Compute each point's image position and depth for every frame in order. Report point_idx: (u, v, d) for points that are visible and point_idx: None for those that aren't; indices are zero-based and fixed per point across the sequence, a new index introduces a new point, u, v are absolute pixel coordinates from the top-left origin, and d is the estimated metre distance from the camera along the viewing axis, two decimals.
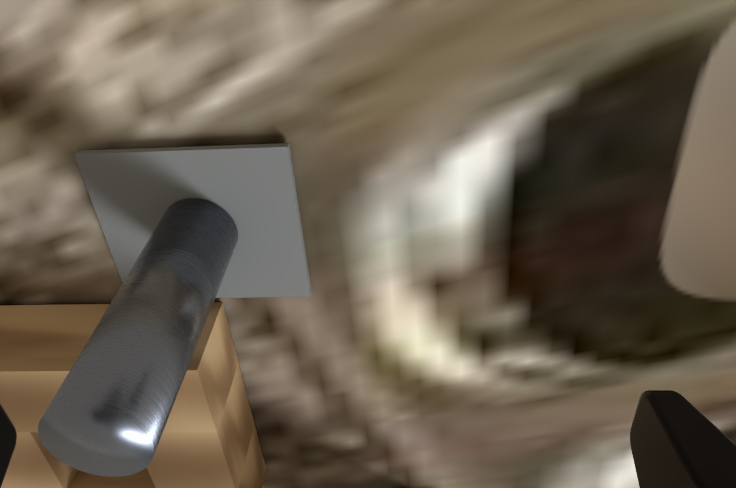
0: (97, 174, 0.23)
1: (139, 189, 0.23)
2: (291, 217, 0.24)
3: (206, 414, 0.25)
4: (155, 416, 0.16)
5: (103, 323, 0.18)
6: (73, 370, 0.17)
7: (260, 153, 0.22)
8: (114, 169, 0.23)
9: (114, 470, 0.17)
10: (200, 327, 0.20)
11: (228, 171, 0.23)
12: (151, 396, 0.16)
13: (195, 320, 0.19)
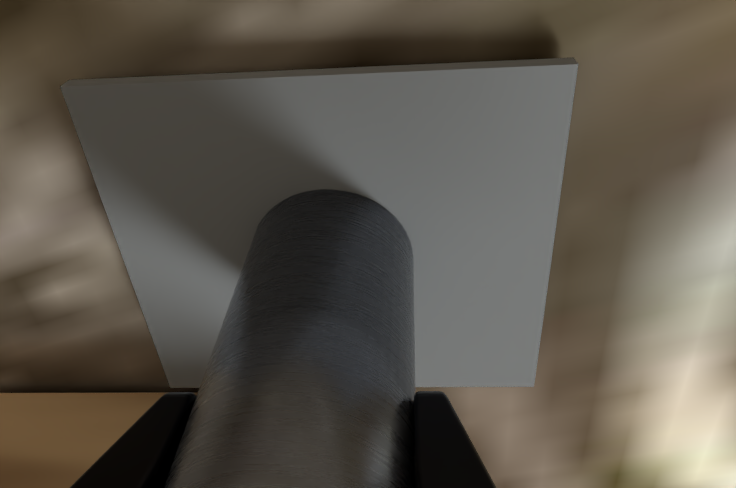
0: (115, 136, 0.10)
1: (208, 169, 0.10)
2: (539, 233, 0.11)
3: None
4: None
5: None
6: None
7: (506, 83, 0.09)
8: (154, 124, 0.10)
9: None
10: None
11: (419, 127, 0.10)
12: None
13: None
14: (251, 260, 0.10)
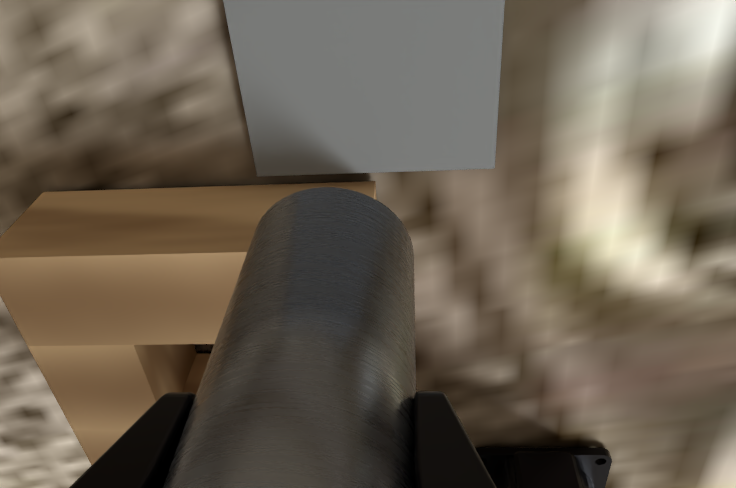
0: None
1: (295, 7, 0.18)
2: (492, 48, 0.18)
3: None
4: None
5: None
6: None
7: None
8: None
9: None
10: None
11: None
12: None
13: None
14: (251, 258, 0.10)
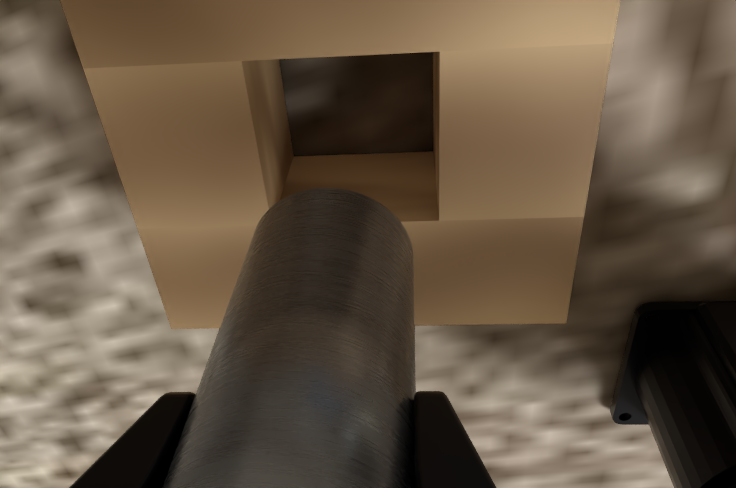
0: None
1: None
2: None
3: None
4: None
5: None
6: None
7: None
8: None
9: None
10: None
11: None
12: None
13: None
14: (250, 259, 0.10)
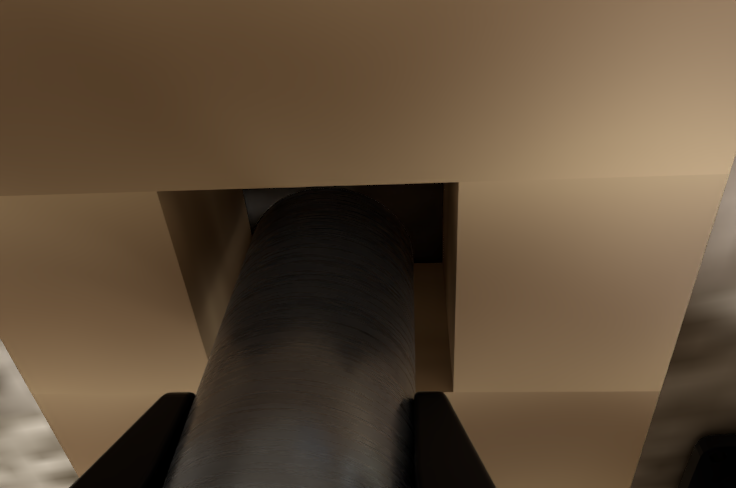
0: None
1: None
2: None
3: None
4: None
5: None
6: None
7: None
8: None
9: None
10: None
11: None
12: None
13: None
14: (250, 258, 0.10)
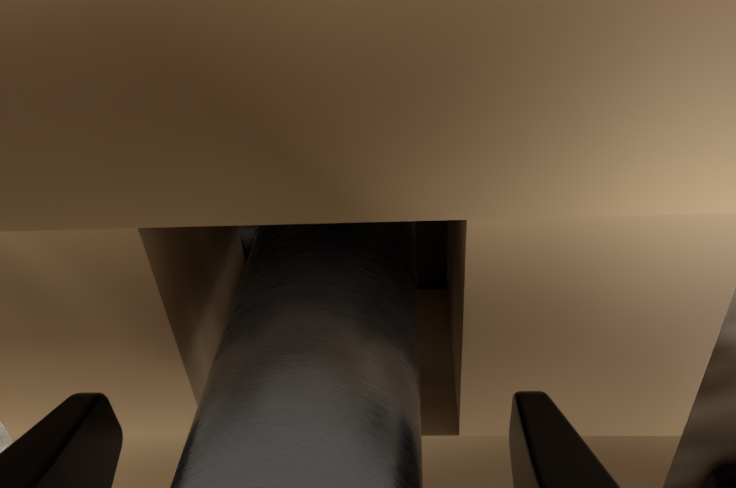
0: None
1: None
2: None
3: None
4: None
5: (215, 443, 0.07)
6: None
7: None
8: None
9: None
10: None
11: None
12: None
13: (418, 413, 0.08)
14: None
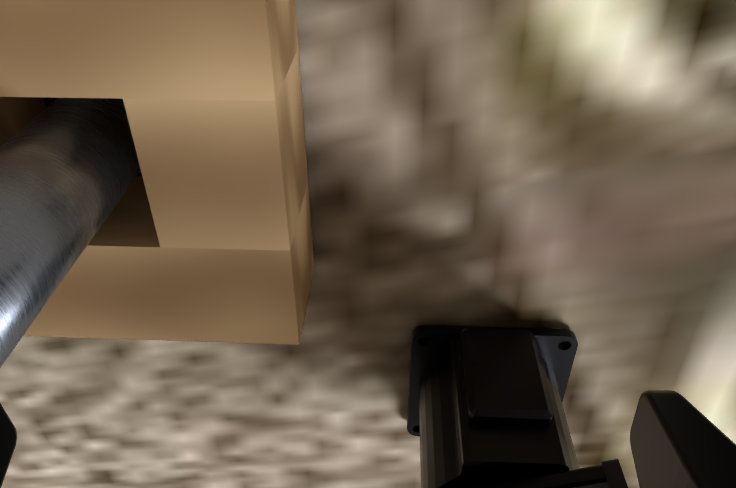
0: None
1: None
2: None
3: (261, 53, 0.14)
4: (4, 305, 0.12)
5: None
6: None
7: None
8: None
9: None
10: (97, 213, 0.15)
11: None
12: (2, 279, 0.12)
13: (88, 201, 0.15)
14: None
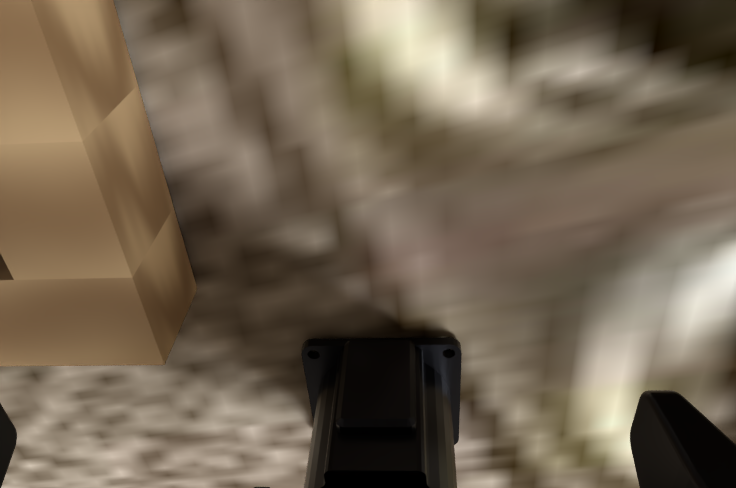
0: None
1: None
2: None
3: (59, 99, 0.15)
4: None
5: None
6: None
7: None
8: None
9: None
10: None
11: None
12: None
13: None
14: None
